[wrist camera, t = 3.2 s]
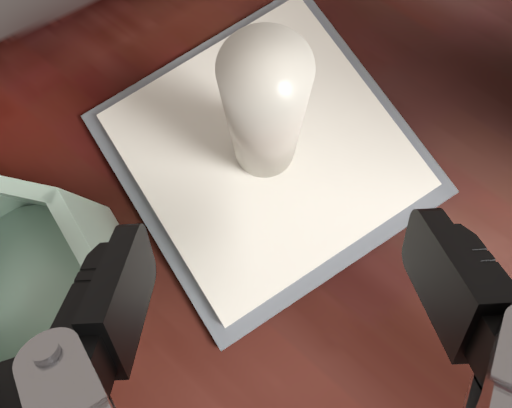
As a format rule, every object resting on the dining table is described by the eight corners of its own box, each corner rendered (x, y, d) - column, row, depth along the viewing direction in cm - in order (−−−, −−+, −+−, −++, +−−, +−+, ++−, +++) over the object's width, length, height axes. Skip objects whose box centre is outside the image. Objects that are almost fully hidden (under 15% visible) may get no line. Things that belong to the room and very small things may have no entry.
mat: (300, -9, 26) (301, -16, 25) (454, 193, 23) (459, 191, 22) (85, 119, 24) (80, 115, 24) (222, 349, 22) (220, 351, 21)
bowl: (83, 162, 24) (23, 127, 18) (178, 326, 22) (147, 347, 16) (-88, 265, 23) (-208, 264, 17) (-3, 445, 21) (-105, 513, 15)
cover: (297, 3, 25) (319, -171, 15) (435, 187, 23) (568, 124, 13) (101, 120, 24) (-14, 15, 14) (226, 326, 21) (194, 375, 12)
